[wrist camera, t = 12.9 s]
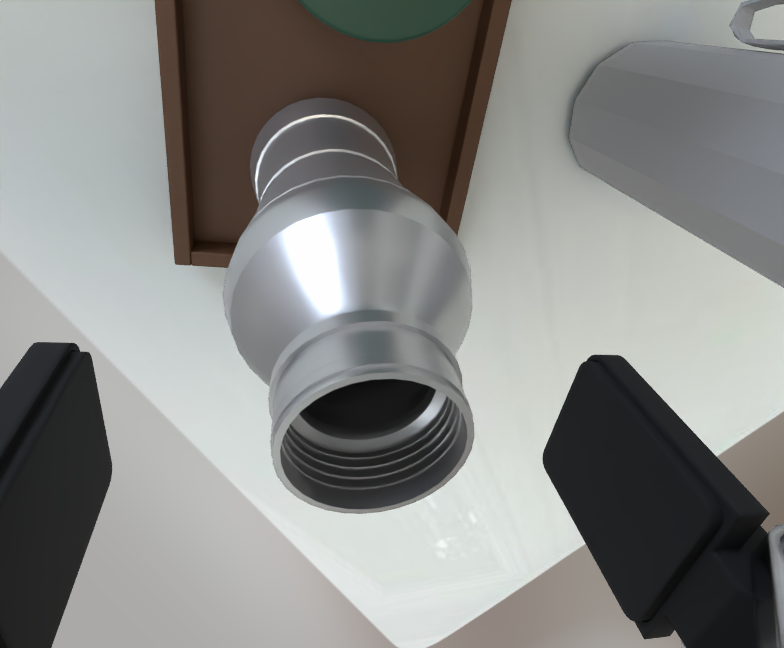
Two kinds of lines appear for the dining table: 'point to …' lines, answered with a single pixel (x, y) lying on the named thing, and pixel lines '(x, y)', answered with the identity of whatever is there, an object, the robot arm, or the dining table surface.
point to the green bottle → (385, 17)
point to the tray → (306, 81)
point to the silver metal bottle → (350, 314)
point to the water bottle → (695, 137)
